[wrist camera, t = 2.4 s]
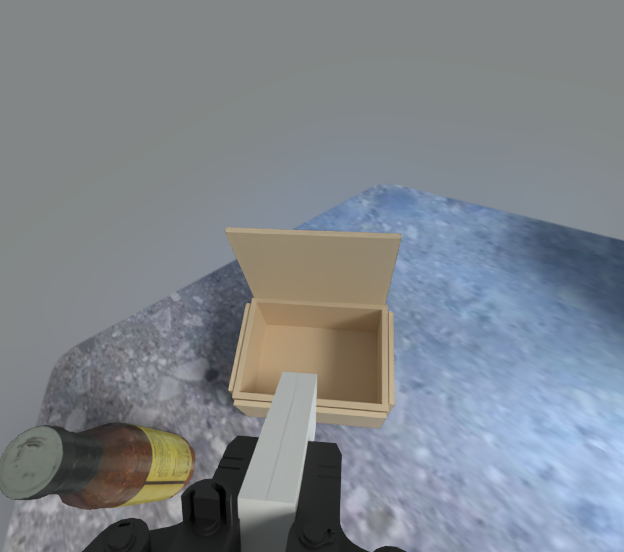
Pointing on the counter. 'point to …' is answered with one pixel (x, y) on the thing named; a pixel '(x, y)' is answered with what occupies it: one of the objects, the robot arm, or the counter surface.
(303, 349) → the wooden box
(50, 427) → the sauce bottle
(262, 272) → the flap
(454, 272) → the counter surface
